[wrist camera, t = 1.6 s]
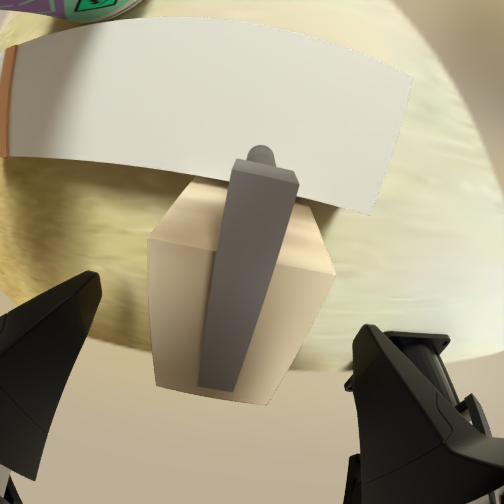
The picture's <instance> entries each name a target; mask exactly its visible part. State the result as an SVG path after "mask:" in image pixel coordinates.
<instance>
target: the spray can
mask: <svg viewBox="0 0 504 504" xmlns="http://www.w3.org/2000/svg"><path fill="white" fill-rule="evenodd" d="M142 1H143V0H0V10H11V11H21V12H29V13H35V14H42V15H47V16H53V17H57V18H62V19H67V20H71V21H75V22H81V23H89V24H91V23H100V22H103V21H107V20H110V19H112V18H115V17H117V16H120V15H121V14H123V13H125V12H127V11H128V10H130V9H132V8H133V7H134V6H136V5H137V4H139V3H140V2H142Z"/></svg>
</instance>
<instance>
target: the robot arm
mask: <svg viewBox="0 0 504 504" xmlns="http://www.w3.org/2000/svg"><path fill="white" fill-rule="evenodd" d="M101 297H102V288H101V282H100V276H99V274H98V273H97V272H93V271H90V270H87V271H85V272H83V273H81V274H79V275H77V276H75V277H73V278H71V279H69V280H67V281H65V282H63V283H61V284H59V285H57V286H55V287H53V288H51V289H50V290H48V291H46V292H44V293H42V294H40V295H38V296H36V297H35V298H33V299H31V300H29V301H27V302H25V303H24V304H22V305H20V306H18V307H16V308H15V309H13V310H11V311H9V312H8V314H7V313H6V314H4V315H2V316H0V504H23V503H22V501H21V499H20V497H19V495H18V493H17V491H16V488H15V486H14V484H13V482H12V479H11V476H10V472H11V470H12V471H14V472H16V473H18V474H20V475H22V476H24V477H26V478H28V479H31V480H33V481H35V480H36V477H37V472H38V468H39V464H40V460H41V456H42V453H43V449H44V446H45V442H46V439H47V436H48V432H49V429H50V426H51V423H52V420H53V417H54V414H55V411H56V408H57V406H58V403H59V400H60V398H61V395H62V392H63V390H64V387H65V385H66V382H67V380H68V377H69V375H70V373H71V370H72V368H73V365H74V363H75V361H76V359H77V357H78V354H79V352H80V350H81V348H82V346H83V344H84V341H85V339H86V337H87V335H88V332H89V330H90V327H91V324H92V321H93V319H94V316H95V313H96V311H97V308H98V305H99V303H100V300H101ZM450 341H451V340H450V338H449V336H448V335H442V334H423V333H408V332H395V331H390V332H387V333H385V334H383V333H382V331H381V330H380V329H379V328H378V327H377V326H375V325H371V324H364V325H363V326H362V327H361V329H360V331H359V332H358V334H357V335H356V337H355V338H354V340H353V344H352V349H353V375H352V376H351V377H350V378H349V379H348V381H347V382H346V383H345V384H344V387H345V391H348V392H353V395H354V399H355V404H356V409H357V417H358V427H359V439H360V454H355V455H352V456H350V457H349V465H348V473H347V481H346V489H345V496H344V501H343V504H504V438H494V437H492V435H491V431H490V427H489V425H488V422H487V419H486V417H485V414H484V412H483V409H482V407H481V405H480V403H479V402H478V401H477V399H476V398H475V396H474V395H473V394H472V393H471V394H470V395H468V396H467V397H465V398H464V399H465V400H463V401H462V402H460V401H459V399H458V396H457V394H456V392H455V389H454V387H453V384H452V382H451V379H450V377H449V375H448V373H447V370H446V368H445V366H444V364H443V361H442V359H441V357H440V354H441V352H442V351H443V350H444V349H445V348H446V347H447V345H448V344H449V343H450ZM469 421H472V424H473V425H471V424H470V423H469Z"/></svg>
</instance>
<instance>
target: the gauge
mask: <svg viewBox="0 0 504 504" xmlns="http://www.w3.org/2000/svg"><path fill="white" fill-rule="evenodd" d="M299 186H300V184H299V182H298V179H297V177H296V175H295V173H294V171H292V170H288V169H283V168H279V167H276V162H275V158H274V154H273V152H272V150H271V149H270V148H269V147H267V146H265V145H257V146H254V147H253V148H251V149H250V151H249V152H248V155H247V159H246V160H242V159H237V158H236V161H235V163H234V165H233V168H232V170H231V175H230V180H229V181H225V180H219V179H214V178H209V177H203V176H197V175H196V176H195V177H194V179H193V180H192V181H191V182H190V183H189V185H188V186H187V187H186V188H185V190H184V191H183V192H182V193H181V195H180V196H179V197H178V198H177V200H176V201H175V202H174V203H173V205H172V206H171V207H170V208H169V210H168V211H167V212H166V214H165V215H164V216H163V218H162V219H161V220H160V222H159V223H158V224H157V226H156V227H155V228H154V230H153V231H152V232H151V234H150V235H149V236H148V243H147V268H148V302H149V320H150V333H151V345H152V355H153V364H154V373H155V381H156V386H159V387H163V388H167V389H171V390H176V391H180V392H185V393H189V394H195V395H199V396H205V397H210V398H216V399H222V400H229V401H235V402H243V403H251V404H260V405H267V404H268V403H269V401H270V399H271V398H272V396H273V394H274V392H275V391H276V389H277V388H278V386H279V384H280V383H281V381H282V379H283V378H284V376H285V374H286V372H287V371H288V369H289V367H290V365H291V364H292V362H293V360H294V358H295V356H296V355H297V353H298V351H299V349H300V347H301V345H302V343H303V342H304V340H305V338H306V336H307V334H308V332H309V330H310V328H311V326H312V324H313V322H314V320H315V318H316V316H317V315H318V312H319V310H320V308H321V306H322V304H323V302H324V300H325V298H326V296H327V294H328V292H329V290H330V288H331V286H332V283H333V281H334V279H335V277H336V273H335V270H334V268H333V265H332V262H331V259H330V257H329V254H328V252H327V249H326V246H325V244H324V241H323V239H322V236H321V234H320V231H319V229H318V226H317V224H316V221H315V219H314V216H313V214H312V212H311V209H310V207H309V204H308V202H307V200H306V198H303V197H298V196H297V193H298V189H299Z"/></svg>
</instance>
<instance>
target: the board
mask: <svg viewBox="0 0 504 504" xmlns="http://www.w3.org/2000/svg"><path fill="white" fill-rule="evenodd" d="M412 81H413V77H411V76H409V75H407V74H405V73H403V72H401V71H399V70H397V69H395V68H393V67H391V66H389V65H387V64H385V63H383V62H381V61H378V60H376V59H374V58H371V57H369V56H367V55H364V54H362V53H359V52H357V51H354V50H352V49H349V48H346V47H343V46H341V45H338V44H335V43H332V42H329V41H326V40H323V39H319V38H316V37H313V36H309V35H305V34H302V33H298V32H294V31H290V30H286V29H281V28H276V27H272V26H266V25H261V24H255V23H249V22H242V21H234V20H226V19H215V18H201V17H149V18H135V19H125V20H116V21H109V22H102V23H96V24H91V25H85V26H81V27H76V28H72V29H67V30H64V31H60V32H56V33H52V34H49V35H46V36H42V37H39V38H36V39H33V40H30V41H27V42H25V43H22V44H19V45H14V46H12V47H9V48H7V49H6V50H5V51H2V52H0V157H8V156H16V157H42V158H59V159H73V160H84V161H95V162H105V163H114V164H123V165H131V166H138V167H146V168H153V169H160V170H167V171H173V172H179V173H186V174H192V175H197V176H203V177H209V178H214V179H219V180H225V181H229V180H230V175H231V170H232V168H233V165H234V163H235V161H236V158H237V159H242V160H246V159H247V155H248V152H249V151H250V149H251V148H253V147H254V146H257V145H265V146H267V147H269V148H270V149H271V150H272V152H273V154H274V158H275V162H276V167H279V168H283V169H288V170H292V171H294V173H295V175H296V177H297V179H298V182H299V184H300V186H299V189H298V193H297V196H298V197H303V198H307V199H311V200H315V201H318V202H322V203H326V204H330V205H334V206H338V207H341V208H345V209H348V210H352V211H356V212H359V213H363V214H366V215H369V216H370V214H371V212H372V209H373V207H374V204H375V201H376V199H377V196H378V193H379V191H380V188H381V185H382V182H383V180H384V177H385V174H386V171H387V168H388V165H389V162H390V159H391V156H392V153H393V150H394V147H395V144H396V140H397V137H398V134H399V130H400V127H401V124H402V120H403V116H404V113H405V109H406V105H407V101H408V97H409V93H410V89H411V85H412Z"/></svg>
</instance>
